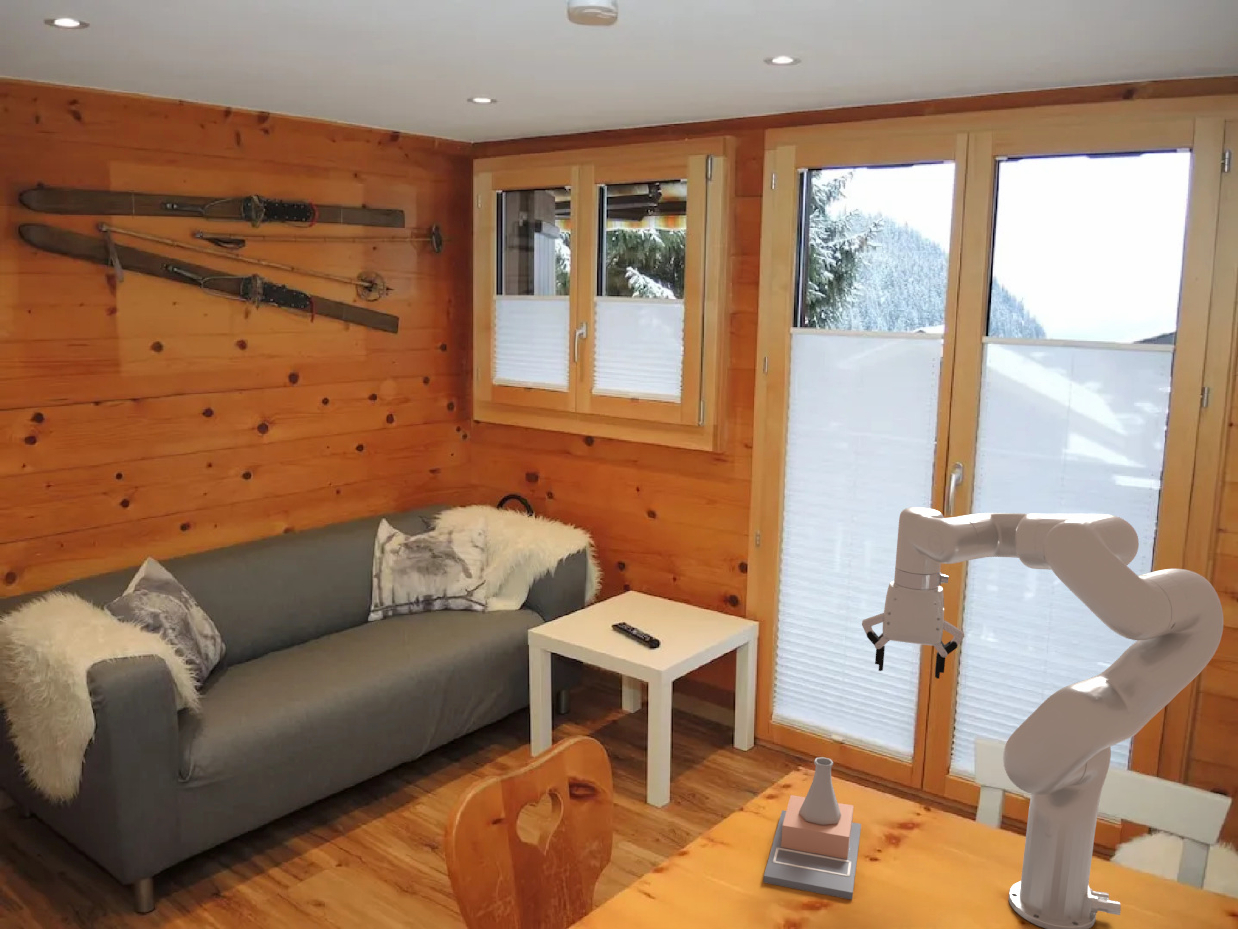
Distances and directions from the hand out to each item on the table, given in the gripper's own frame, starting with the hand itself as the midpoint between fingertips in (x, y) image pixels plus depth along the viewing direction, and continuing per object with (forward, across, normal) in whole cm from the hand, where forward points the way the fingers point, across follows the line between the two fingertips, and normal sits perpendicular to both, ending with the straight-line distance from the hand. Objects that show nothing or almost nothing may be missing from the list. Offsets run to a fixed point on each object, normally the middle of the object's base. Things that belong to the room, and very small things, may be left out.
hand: (908, 672), depth 180 cm
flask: (+23, +13, +13) cm, 30 cm away
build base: (+28, +13, +17) cm, 35 cm away
